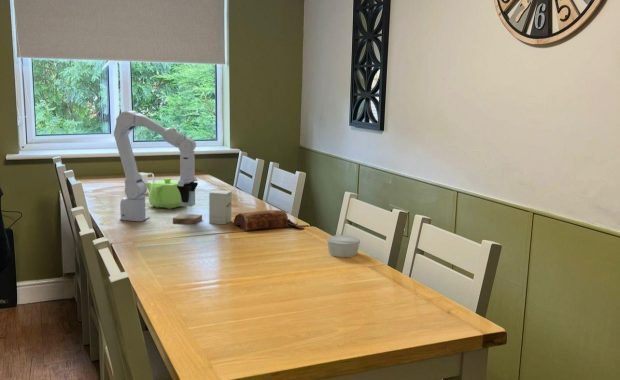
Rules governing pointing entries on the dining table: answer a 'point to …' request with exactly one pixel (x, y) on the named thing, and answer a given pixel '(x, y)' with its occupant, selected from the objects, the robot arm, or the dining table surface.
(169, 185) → the teapot
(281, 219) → the cured meat
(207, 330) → the dining table surface
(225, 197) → the supplement box
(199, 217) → the walnut slab
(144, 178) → the cup
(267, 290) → the dining table surface
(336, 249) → the ramekin
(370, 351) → the dining table surface
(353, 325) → the dining table surface
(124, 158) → the robot arm
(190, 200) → the pale grey block
